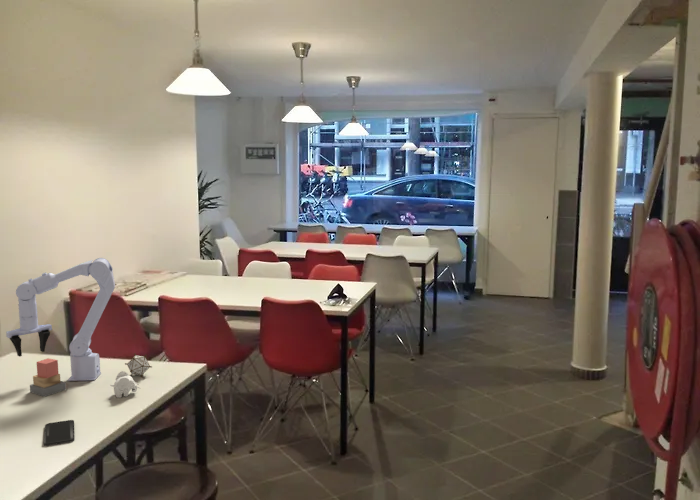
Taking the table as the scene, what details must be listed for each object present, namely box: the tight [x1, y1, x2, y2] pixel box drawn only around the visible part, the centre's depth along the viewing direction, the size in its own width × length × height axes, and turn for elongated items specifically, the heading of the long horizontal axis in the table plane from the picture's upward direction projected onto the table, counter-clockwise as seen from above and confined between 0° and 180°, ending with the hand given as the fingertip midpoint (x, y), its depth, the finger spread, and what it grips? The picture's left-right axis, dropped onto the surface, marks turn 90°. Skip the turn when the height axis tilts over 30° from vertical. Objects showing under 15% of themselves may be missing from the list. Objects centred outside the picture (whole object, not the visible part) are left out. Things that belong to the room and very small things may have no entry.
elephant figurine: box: [109, 370, 141, 398], centre depth 210 cm, size 8×10×7 cm
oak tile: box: [32, 373, 62, 388], centre depth 213 cm, size 6×6×3 cm
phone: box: [43, 419, 75, 447], centre depth 180 cm, size 8×1×15 cm
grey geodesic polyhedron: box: [124, 353, 153, 378], centre depth 229 cm, size 9×8×10 cm
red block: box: [36, 357, 59, 378], centre depth 213 cm, size 5×5×5 cm
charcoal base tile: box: [29, 380, 67, 397], centre depth 214 cm, size 8×8×3 cm
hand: (31, 353), depth 221 cm, fingers open, 7 cm apart
